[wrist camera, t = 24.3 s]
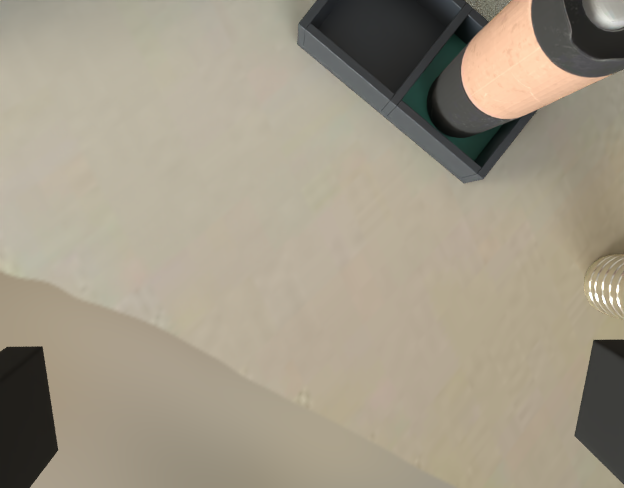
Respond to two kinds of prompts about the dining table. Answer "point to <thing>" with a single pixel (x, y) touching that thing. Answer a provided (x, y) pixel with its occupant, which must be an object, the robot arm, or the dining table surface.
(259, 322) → the dining table surface
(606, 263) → the water bottle
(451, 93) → the travel mug
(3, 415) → the robot arm
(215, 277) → the dining table surface
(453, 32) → the divided organizer tray
